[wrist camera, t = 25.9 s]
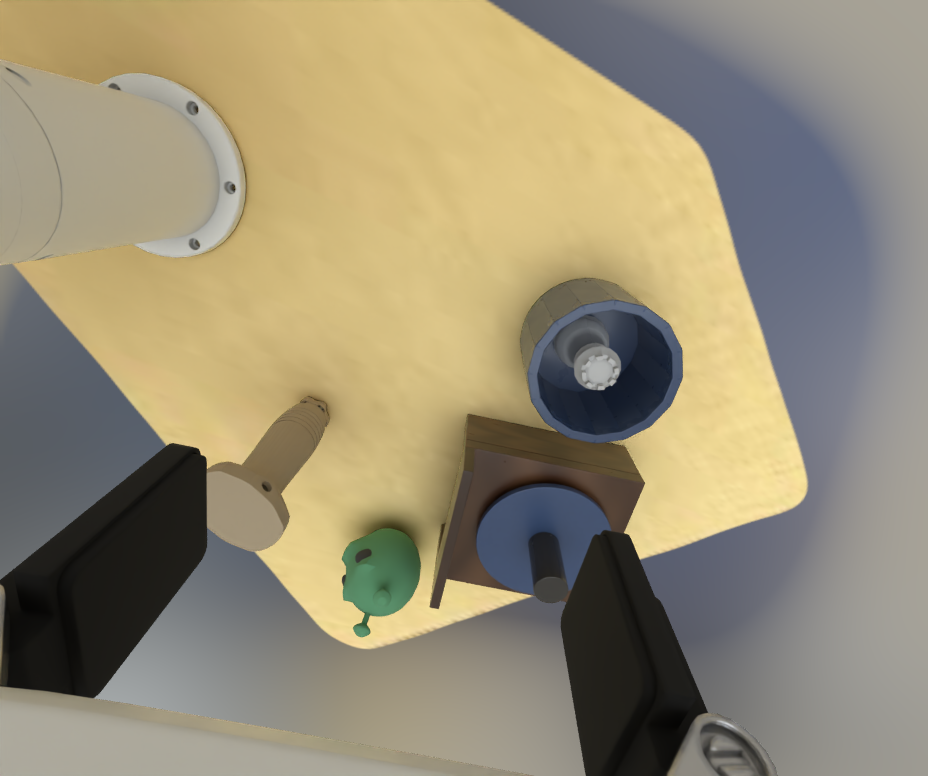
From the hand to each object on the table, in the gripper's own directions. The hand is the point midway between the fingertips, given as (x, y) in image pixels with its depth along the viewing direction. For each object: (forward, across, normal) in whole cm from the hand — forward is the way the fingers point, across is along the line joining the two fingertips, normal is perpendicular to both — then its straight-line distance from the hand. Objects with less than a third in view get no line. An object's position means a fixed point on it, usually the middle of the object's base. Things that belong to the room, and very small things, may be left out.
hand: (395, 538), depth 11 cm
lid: (+24, -11, +18) cm, 32 cm away
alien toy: (+31, +2, +27) cm, 41 cm away
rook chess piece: (+30, -11, +2) cm, 32 cm away
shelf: (+30, -10, +18) cm, 37 cm away
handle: (+31, +11, +14) cm, 35 cm away
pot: (+30, -11, +2) cm, 32 cm away
